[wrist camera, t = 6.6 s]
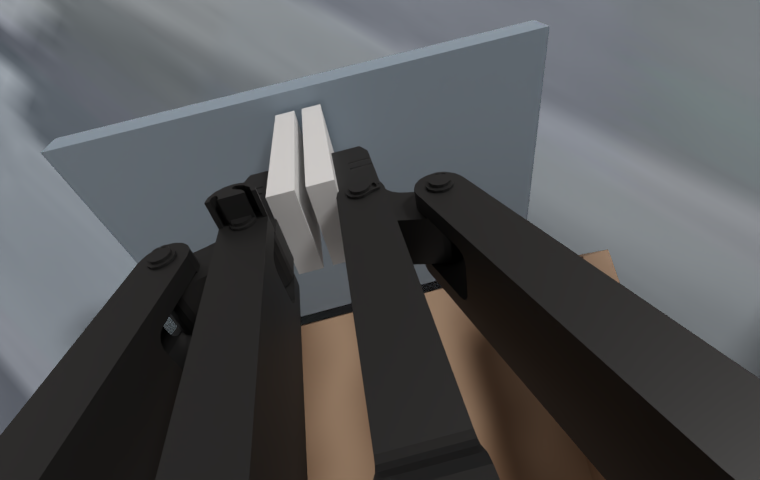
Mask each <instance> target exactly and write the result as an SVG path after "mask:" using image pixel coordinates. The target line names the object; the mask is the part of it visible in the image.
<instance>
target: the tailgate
mask: <svg viewBox="0 0 760 480" xmlns="http://www.w3.org/2000/svg"><path fill="white" fill-rule="evenodd" d="M548 34H549V26H548V25H545V24H543V23H541V22H538V21H536V20H532V21H528V22H524V23H520V24H516V25H512V26H508V27H503V28H499V29H495V30H491V31H487V32H483V33H479V34H475V35H471V36H467V37H463V38H459V39H455V40H451V41H447V42H443V43H439V44H435V45H431V46H427V47H423V48H419V49H415V50H411V51H407V52H403V53H399V54H395V55H391V56H387V57H382V58H378V59H374V60H370V61H366V62H362V63H358V64H354V65H350V66H346V67H342V68H338V69H334V70H330V71H326V72H322V73H318V74H314V75H310V76H306V77H302V78H298V79H294V80H290V81H286V82H282V83H278V84H274V85H270V86H266V87H261V88H257V89H253V90H249V91H245V92H241V93H237V94H233V95H229V96H225V97H221V98H217V99H213V100H209V101H205V102H201V103H197V104H193V105H189V106H185V107H181V108H177V109H173V110H169V111H165V112H161V113H157V114H153V115H149V116H145V117H140V118H136V119H132V120H128V121H124V122H120V123H116V124H112V125H108V126H104V127H100V128H96V129H92V130H88V131H84V132H80V133H76V134H72V135H68V136H64V137H60V138H56V139H54V140H53V141H52V142H51V143H50V144H49V145H48V146H47V147H46V148H45V149H44V150H43V151H42V152H41V154H42V155H43V156H44V157H45V158H46V159H47V160H48V162H49V163H50V164H51V165H52V166H53V167H54V168H55V170H56V171H57V172H58V173H59V174H60V175H61V176H62V178H63V179H64V180H65V181H66V182H67V183H68V184H69V186H70V187H71V188H72V189H73V190H74V191H75V192H76V194H77V195H78V196H79V197H80V198H81V199H82V200H83V202H84V203H85V204H86V205H87V206H88V207H89V208H90V210H91V211H92V212H93V213H94V214H95V215H96V216H97V218H98V219H99V220H100V221H101V222H102V223H103V224H104V226H105V227H106V228H107V229H108V230H109V231H110V232H111V234H112V235H113V236H114V237H115V238H116V239H117V240H118V242H119V243H120V244H121V245H122V246H123V247H124V248H125V250H126V251H127V252H128V253H129V254H130V255H131V256H132V258H133V259H134V260H135V261H136V262H137V263H139V262H140V261H141V260H142V259H143V258H144V257H145V256H146V255H148V254H149V253H151V252H152V251H153V250H154V249H156V248H158V247H159V248H160V246H163V245H168V244H172V243H184V244H187V245H188V246H189V248H190V249H191V251H192V252H193V253H194V252H196V251H198V250H200V249H203V248H205V247H207V246H209V245H211V244H213V243H215V242H216V238H217V234H218V230H219V229H218V227H217V225H216V224H215V222H214V220H213V218H212V217H211V215H210V213H209V211H208V209H207V208H206V206H205V204H204V203H205V201H206V200H207V198H208V197H209V196H211V195H212V194H213V193H214V192H216V191H218V190H220V189H222V188H224V187H227V186H229V185H232V184H237V183H244V182H245V181H246V179H247V178H248V177H249V176H250V175H253V174H257V173H261V172H265V171H269V164H270V156H271V147H272V139H273V131H274V123H275V115H279V114H283V113H287V112H291V111H294V112H295V115H296V118H297V121H298V124H299V127H300V130H301V133H302V136H303V127H302V109H303V108H307V107H311V106H315V105H319V104H320V105H321V109H322V112H323V116H324V119H325V123H326V126H327V130H328V133H329V137H330V140H331V144H332V147H333V151H334V152H338V151H342V150H346V149H350V148H354V147H357V146H360V147H362V148H364V149H366V150H368V153H369V155H370V158H371V160H372V163H373V166H374V168H375V171H376V173H377V176H378V178H379V181H380V182H382V184H383V185H384V186H385V189H387V190H389V191H392V192H414V187H415V184H416V183H417V182H418V180H419V179H421V178H423V177H425V176H427V175H430V174H433V173H436V172H451V173H456V174H459V175H461V176H463V177H464V178H466V179H467V180H469V181H470V182H472V183H473V184H475V185H476V186H478V187H479V188H480V189H482V190H483V191H485V192H486V193H488V194H489V195H491V196H492V197H494V198H495V199H497V200H498V201H500V202H501V203H502V204H504V205H505V206H507V207H508V208H510V209H511V210H513V211H514V212H516V213H517V214H519V215H520V216H522V217H523V218H524V219H526V220H527V214H528V206H529V197H530V189H531V180H532V171H533V163H534V154H535V146H536V137H537V128H538V120H539V111H540V103H541V94H542V86H543V77H544V68H545V60H546V51H547V43H548ZM320 234H321V244H322V254H323V264H324V268H322V269H318V270H314V271H310V272H307V273H303V274H299V273H298V271H297V268H296V266H295V264H294V274H295V276H296V279H297V281H298V284H299V290H300V313H301V317H302V316H305V315H309V314H313V313H317V312H320V311H324V310H328V309H332V308H335V307H339V306H343V305H347V304H350V303H351V296H350V289H349V282H348V275H347V269H346V262H344V263H340V264H336V265H333V263H332V260H331V257H330V254H329V252H328V249H327V246H326V243H325V240H324V238H323V235H322V232H321V229H320ZM414 268H415V270H416V273H417V276H418V278H419V281H420V284H421V285H422V284H426V283H429V282H433V281H436V280H435V278H434V277H433V276H432V275H431V274H430V273H429V271H428V270H427V267H426V265H425V264H415V265H414Z"/></svg>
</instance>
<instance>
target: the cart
mask: <svg viewBox="0 0 760 480" xmlns="http://www.w3.org/2000/svg"><path fill="white" fill-rule="evenodd" d="M579 256H580V257H582V258H583V259H585V260H586V261H587V262H589V263H590V264H592V265H593V266H595V267H596V268H598V269H599V270H601V271H602V272H604V273H605V274H607V275H608V276H609V277H611V278H612V279H614V280H615V281H617V282H618V283H620V282H619V279H618V276H617V274H616V271H615V268H614V265H613V262H612V259H611V256H610V253H609V251H608V250H603V251H598V252H593V253H587V254H582V255H579ZM424 295H425V297H426V300H427V303H428V306H429V308H430V311H431V314H432V316H433V319H434V322H435V325H436V327H437V330H438V333H439V335H440V338H441V341H442V344H443V346H444V349H445V352H446V354H447V357H448V360H449V363H450V365H451V368H452V371H453V373H454V376H455V379H456V382H457V384H458V387H459V390H460V392H461V395H462V398H463V401H464V403H465V406H466V409H467V411H468V414H469V417H470V420H471V422H472V425H473V428H474V430H475V433H476V435H477V438H478V440H479V442H480V444H481V445H482V446H483V447H484V448H485V449H486V451H487V452H488V454H489V456H490V458H491V460H492V462H493V464H494V466H495V469H496V471H497V474H498V476H499V478H500V480H606V479H605V478H604V477H603V476H602V475H601V474H600V472H599V471H598V470H597V469H596V468H595V467H594V465H593V464H592V463H591V462H590V461H589V459H588V458H587V457H586V456H585V455H584V454H583V452H582V451H581V450H580V449H579V448H578V447H577V445H576V444H575V443H574V442H573V441H572V439H571V438H570V437H569V436H568V435H567V434H566V432H565V431H564V430H563V429H562V428H561V427H560V425H559V424H558V423H557V422H556V421H555V419H554V418H553V417H552V416H551V415H550V414H549V412H548V411H547V410H546V409H545V408H544V407H543V405H542V404H541V403H540V402H539V401H538V399H537V398H536V397H535V396H534V395H533V394H532V392H531V391H530V390H529V389H528V388H527V387H526V385H525V384H524V383H523V382H522V381H521V380H520V378H519V377H518V376H517V375H516V374H515V372H514V371H513V370H512V369H511V368H510V367H509V365H508V364H507V363H506V362H505V361H504V360H503V358H502V357H501V356H500V355H499V354H498V352H497V351H496V350H495V349H494V348H493V347H492V345H491V344H490V343H489V342H488V341H487V340H486V338H485V337H484V336H483V335H482V334H481V332H480V331H479V330H478V329H477V328H476V327H475V325H474V324H473V323H472V322H471V321H470V320H469V318H468V317H467V316H466V315H465V314H464V312H463V311H462V310H461V309H460V308H459V307H458V305H457V304H456V303H455V302H454V301H453V300H452V298H451V297H450V296H449V295H448V294H447V293H446V291H445V290H444V289H443V288H439V289H435V290H432V291H428V292H424ZM301 337H302V360H303V383H304V406H305V430H306V453H307V476H308V480H373V478H374V475H375V463H374V455H373V448H372V441H371V434H370V427H369V420H368V413H367V406H366V400H365V393H364V386H363V379H362V372H361V365H360V358H359V351H358V344H357V337H356V331H355V324H354V317H353V312H349V313H345V314H342V315H338V316H334V317H330V318H327V319H323V320H319V321H315V322H312V323H308V324H304V325H301Z"/></svg>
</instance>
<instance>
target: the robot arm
mask: <svg viewBox="0 0 760 480" xmlns="http://www.w3.org/2000/svg"><path fill="white" fill-rule="evenodd" d="M302 127H303V136H302V133H301V130H300V127H299V124H298V121H297V118H296V115H295V112H294V111H291V112H287V113H283V114H279V115H275V123H274V131H273V139H272V147H271V156H270V164H269V171H265V172H261V173H257V174H253V175H250V176H249V177H248V178H247V179H246V181H245V182H244V183H237V184H232V185H229V186H227V187H224V188H222V189H220V190H218V191H216V192H214V193H213V194H212V195H211V196H209V197H208V198H207V200H206V201H205V203H204V204H205V206H206V208H207V209H208V211H209V213H210V215H211V217H212V218H213V220H214V222H215V224H216V225H217V227H218V229H219V230H218V234H217V238H216V242H215V243H213V244H211V245H209V246H207V247H205V248H203V249H200V250H198V251H196V252H194V253H193V252H192V251H191V249H190V248H189V246H188V245H187V244H184V243H172V244H168V245H163V246H160V248H159V247H158V248H156V249H154V250H153V251H152V252H151V253H149V254H148V255H146V256H145V257H144V258H143V259H142V260H141V261H140V262H139V263H138V264H137V265H136V267H135V268H134V269H133V270H132V272H131V273H130V274H129V275H128V277H127V278H126V279H125V280H124V282H123V283H122V284H121V285H120V287H119V288H118V289H117V290H116V292H115V293H114V294H113V295H112V297H111V298H110V299H109V300H108V302H107V303H106V304H105V305H104V307H103V308H102V309H101V310H100V312H99V313H98V314H97V315H96V317H95V318H94V319H93V320H92V322H91V323H90V324H89V325H88V327H87V328H86V329H85V330H84V332H83V333H82V334H81V335H80V337H79V338H78V339H77V340H76V342H75V343H74V344H73V345H72V347H71V348H70V349H69V350H68V352H67V353H66V354H65V355H64V357H63V358H62V359H61V360H60V362H59V363H58V364H57V365H56V367H55V368H54V369H53V370H52V372H51V373H50V374H49V375H48V377H47V378H46V379H45V380H44V382H43V383H42V384H41V385H40V387H39V388H38V389H37V390H36V392H35V393H34V394H33V395H32V397H31V398H30V399H29V400H28V402H27V403H26V404H25V405H24V407H23V408H22V409H21V410H20V412H19V413H18V414H17V415H16V417H15V418H14V419H13V420H12V422H11V423H10V424H9V425H8V427H7V428H6V429H5V430H4V432H3V433H2V434H1V435H0V480H308V476H307V453H306V430H305V406H304V383H303V360H302V337H301V313H300V290H299V284H298V281H297V279H296V276H295V274H294V264H295V266H296V268H297V271H298V273H299V274H303V273H307V272H310V271H314V270H318V269H322V268H324V264H323V254H322V244H321V234H320V229H321V232H322V235H323V238H324V240H325V243H326V246H327V249H328V252H329V254H330V257H331V260H332V263H333V265H336V264H340V263H344V262H346V269H347V275H348V282H349V289H350V296H351V303H352V310H353V317H354V324H355V331H356V337H357V344H358V351H359V358H360V365H361V372H362V379H363V386H364V393H365V400H366V406H367V413H368V420H369V427H370V434H371V441H372V448H373V455H374V463H375V475H374V478H373V480H500V478H499V476H498V474H497V471H496V469H495V466H494V464H493V462H492V460H491V458H490V456H489V454H488V452H487V451H486V449H485V448H484V447H483V446H482V445H481V444H480V442H479V440H478V438H477V435H476V433H475V430H474V428H473V425H472V422H471V420H470V417H469V414H468V411H467V409H466V406H465V403H464V401H463V398H462V395H461V392H460V390H459V387H458V384H457V382H456V379H455V376H454V373H453V371H452V368H451V365H450V363H449V360H448V357H447V354H446V352H445V349H444V346H443V344H442V341H441V338H440V335H439V333H438V330H437V327H436V325H435V322H434V319H433V316H432V314H431V311H430V308H429V306H428V303H427V300H426V297H425V295H424V292H423V289H422V287H421V284H420V281H419V278H418V276H417V273H416V270H415V268H414V265H415V264H425V265H426V267H427V270H428V271H429V273H430V274H431V275H432V276H433V277H434V278H435V280H436V281H437V282H438V283H439V284H440V285H441V287H442V288H443V289H444V290H445V291H446V293H447V294H448V295H449V296H450V297H451V298H452V300H453V301H454V302H455V303H456V304H457V305H458V307H459V308H460V309H461V310H462V311H463V312H464V314H465V315H466V316H467V317H468V318H469V320H470V321H471V322H472V323H473V324H474V325H475V327H476V328H477V329H478V330H479V331H480V332H481V334H482V335H483V336H484V337H485V338H486V340H487V341H488V342H489V343H490V344H491V345H492V347H493V348H494V349H495V350H496V351H497V352H498V354H499V355H500V356H501V357H502V358H503V360H504V361H505V362H506V363H507V364H508V365H509V367H510V368H511V369H512V370H513V371H514V372H515V374H516V375H517V376H518V377H519V378H520V380H521V381H522V382H523V383H524V384H525V385H526V387H527V388H528V389H529V390H530V391H531V392H532V394H533V395H534V396H535V397H536V398H537V399H538V401H539V402H540V403H541V404H542V405H543V407H544V408H545V409H546V410H547V411H548V412H549V414H550V415H551V416H552V417H553V418H554V419H555V421H556V422H557V423H558V424H559V425H560V427H561V428H562V429H563V430H564V431H565V432H566V434H567V435H568V436H569V437H570V438H571V439H572V441H573V442H574V443H575V444H576V445H577V447H578V448H579V449H580V450H581V451H582V452H583V454H584V455H585V456H586V457H587V458H588V459H589V461H590V462H591V463H592V464H593V465H594V467H595V468H596V469H597V470H598V471H599V472H600V474H601V475H602V476H603V477H604V478H605V479H606V480H760V379H759V378H758V377H756V376H755V375H753V374H752V373H750V372H749V371H747V370H746V369H744V368H743V367H741V366H740V365H739V364H737V363H736V362H734V361H733V360H731V359H730V358H728V357H727V356H725V355H724V354H722V353H721V352H719V351H718V350H717V349H715V348H714V347H712V346H711V345H709V344H708V343H706V342H705V341H703V340H702V339H700V338H699V337H697V336H696V335H695V334H693V333H692V332H690V331H689V330H687V329H686V328H684V327H683V326H681V325H680V324H678V323H677V322H675V321H674V320H673V319H671V318H670V317H668V316H667V315H665V314H664V313H662V312H661V311H659V310H658V309H656V308H655V307H653V306H652V305H651V304H649V303H648V302H646V301H645V300H643V299H642V298H640V297H639V296H637V295H636V294H634V293H633V292H631V291H630V290H629V289H627V288H626V287H624V286H623V285H621V284H620V283H618V282H617V281H615V280H614V279H612V278H611V277H609V276H608V275H607V274H605V273H604V272H602V271H601V270H599V269H598V268H596V267H595V266H593V265H592V264H590V263H589V262H587V261H586V260H585V259H583V258H582V257H580V256H579V255H577V254H576V253H574V252H573V251H571V250H570V249H568V248H567V247H566V246H564V245H563V244H561V243H560V242H558V241H557V240H555V239H554V238H552V237H551V236H549V235H548V234H546V233H545V232H544V231H542V230H541V229H539V228H538V227H536V226H535V225H533V224H532V223H530V222H529V221H527V220H526V219H524V218H523V217H522V216H520V215H519V214H517V213H516V212H514V211H513V210H511V209H510V208H508V207H507V206H505V205H504V204H502V203H501V202H500V201H498V200H497V199H495V198H494V197H492V196H491V195H489V194H488V193H486V192H485V191H483V190H482V189H480V188H479V187H478V186H476V185H475V184H473V183H472V182H470V181H469V180H467V179H466V178H464V177H463V176H461V175H459V174H456V173H451V172H436V173H433V174H430V175H427V176H425V177H423V178H421V179H419V180H418V182H417V183H416V184H415V187H414V192H392V191H389V190H387V189H385V186H384V185H383V184H382V182H380V181H379V178H378V176H377V173H376V171H375V168H374V166H373V163H372V160H371V158H370V155H369V153H368V150H366V149H364V148H362V147H360V146H357V147H354V148H350V149H346V150H342V151H338V152H334V151H333V147H332V144H331V140H330V137H329V133H328V130H327V126H326V123H325V119H324V116H323V112H322V109H321V105H320V104H319V105H315V106H311V107H307V108H303V109H302ZM169 316H170V318H171V319H172V320H173V321H174V323H175V324H176V325H177V328H176V330H175V332H174V333H173V334H172V335H171V334H169V333H168V332H167V331H166V329H165V328H164V327H163V326H164V324H165V322H166V321H167V319H168V317H169Z"/></svg>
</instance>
